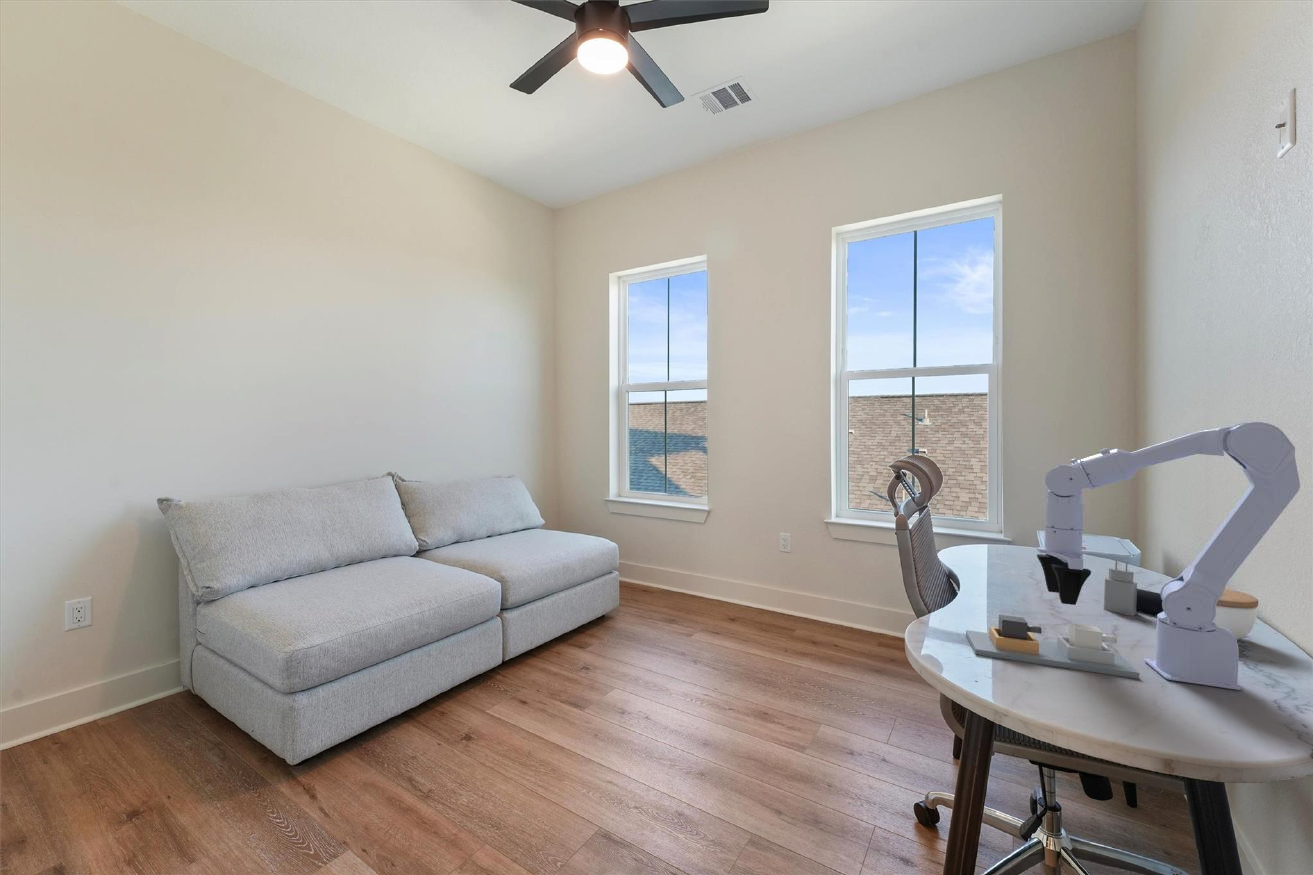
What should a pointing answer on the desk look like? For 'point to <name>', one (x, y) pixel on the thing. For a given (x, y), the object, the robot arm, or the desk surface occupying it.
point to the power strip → (1057, 650)
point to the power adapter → (1120, 591)
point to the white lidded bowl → (1236, 612)
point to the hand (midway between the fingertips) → (1061, 597)
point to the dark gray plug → (1015, 627)
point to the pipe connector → (1149, 602)
